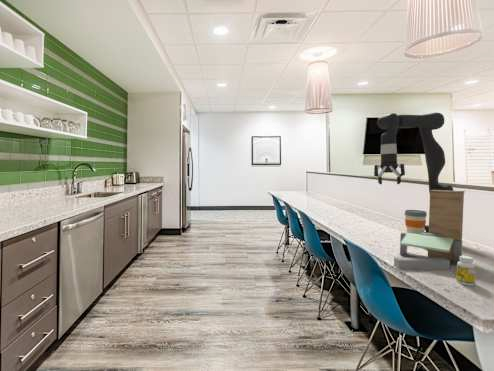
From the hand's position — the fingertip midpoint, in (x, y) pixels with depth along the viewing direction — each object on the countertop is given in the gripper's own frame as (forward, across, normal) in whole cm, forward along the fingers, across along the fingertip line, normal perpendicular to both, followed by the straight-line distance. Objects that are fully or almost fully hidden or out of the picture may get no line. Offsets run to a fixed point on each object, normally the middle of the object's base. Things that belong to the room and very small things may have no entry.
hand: (389, 184), depth 148 cm
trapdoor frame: (+35, -18, +8) cm, 40 cm away
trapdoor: (+25, -19, +13) cm, 34 cm away
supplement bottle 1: (+36, -15, -15) cm, 42 cm away
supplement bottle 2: (+35, -34, +31) cm, 57 cm away
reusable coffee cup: (+36, -2, -50) cm, 62 cm away
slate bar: (+32, -17, +21) cm, 42 cm away
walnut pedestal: (+35, -24, +1) cm, 42 cm away
